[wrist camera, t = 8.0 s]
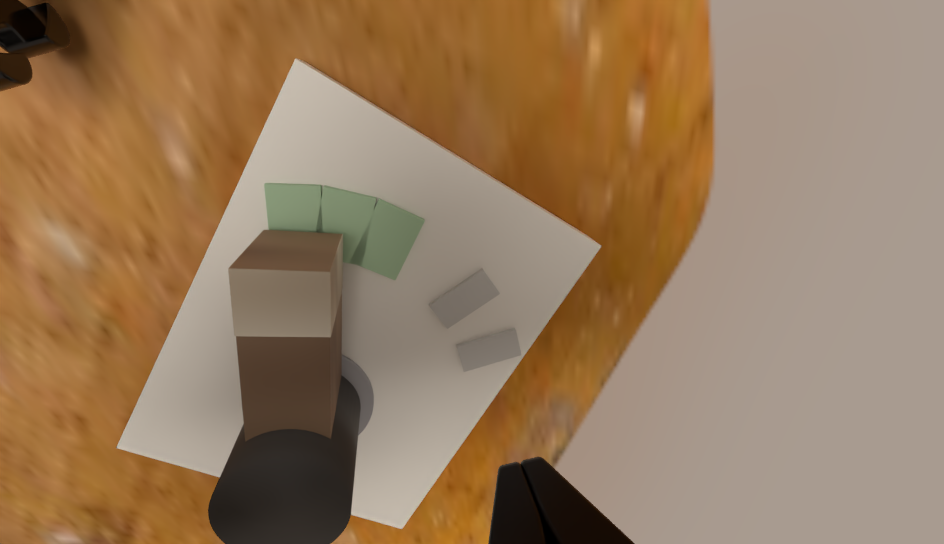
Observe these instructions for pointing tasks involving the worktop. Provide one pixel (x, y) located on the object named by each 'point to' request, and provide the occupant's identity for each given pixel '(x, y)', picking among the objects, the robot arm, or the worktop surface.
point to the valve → (27, 39)
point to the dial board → (370, 292)
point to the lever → (289, 396)
